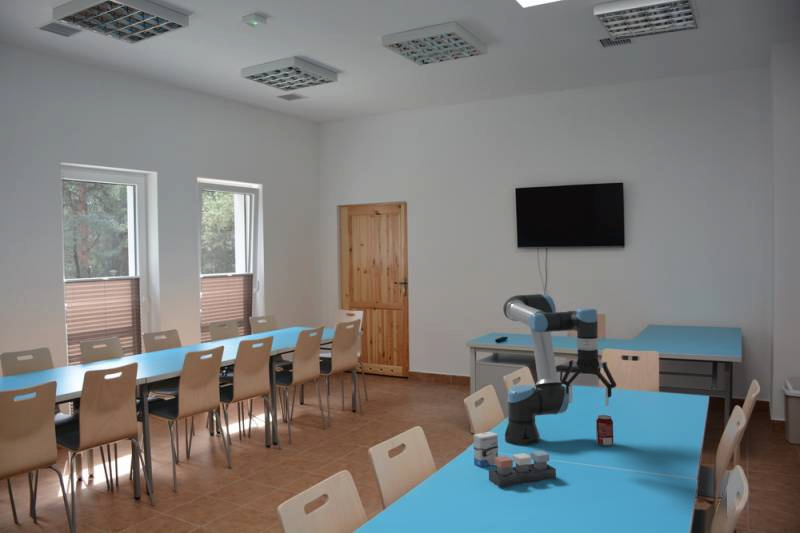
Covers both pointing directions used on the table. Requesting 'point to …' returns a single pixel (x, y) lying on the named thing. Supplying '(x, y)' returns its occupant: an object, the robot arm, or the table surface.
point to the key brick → (503, 465)
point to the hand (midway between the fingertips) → (588, 403)
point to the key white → (522, 462)
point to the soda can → (604, 430)
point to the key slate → (540, 459)
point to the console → (522, 476)
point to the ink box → (485, 448)
